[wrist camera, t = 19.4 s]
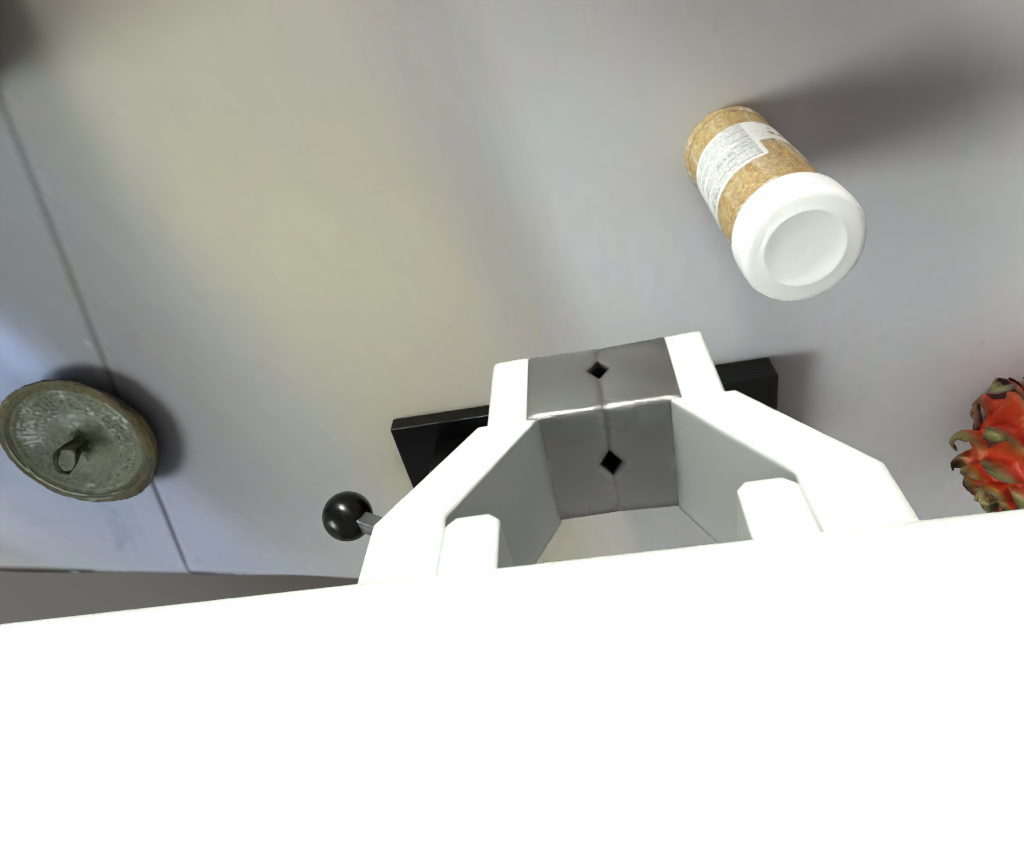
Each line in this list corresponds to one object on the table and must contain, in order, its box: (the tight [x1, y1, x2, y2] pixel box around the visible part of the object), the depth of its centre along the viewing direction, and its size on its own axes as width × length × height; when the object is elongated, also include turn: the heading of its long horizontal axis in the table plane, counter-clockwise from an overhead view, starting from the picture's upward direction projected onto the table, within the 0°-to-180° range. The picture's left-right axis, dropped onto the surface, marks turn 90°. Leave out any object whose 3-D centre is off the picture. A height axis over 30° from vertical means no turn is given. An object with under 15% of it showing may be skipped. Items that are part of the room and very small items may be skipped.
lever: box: [322, 491, 383, 541], centre depth 43 cm, size 13×3×3 cm, turn 102°
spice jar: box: [685, 106, 867, 301], centre depth 30 cm, size 5×5×13 cm
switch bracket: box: [391, 406, 490, 488], centre depth 44 cm, size 10×8×12 cm
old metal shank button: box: [0, 379, 159, 502], centre depth 47 cm, size 11×10×5 cm
